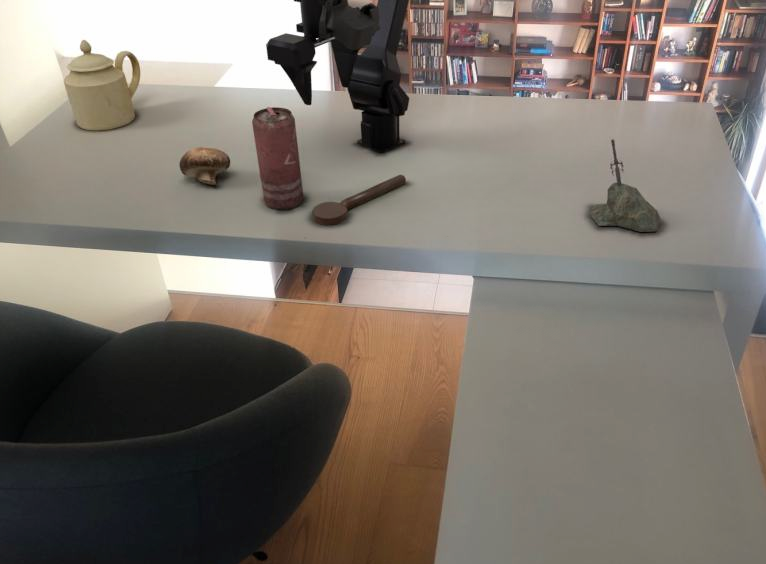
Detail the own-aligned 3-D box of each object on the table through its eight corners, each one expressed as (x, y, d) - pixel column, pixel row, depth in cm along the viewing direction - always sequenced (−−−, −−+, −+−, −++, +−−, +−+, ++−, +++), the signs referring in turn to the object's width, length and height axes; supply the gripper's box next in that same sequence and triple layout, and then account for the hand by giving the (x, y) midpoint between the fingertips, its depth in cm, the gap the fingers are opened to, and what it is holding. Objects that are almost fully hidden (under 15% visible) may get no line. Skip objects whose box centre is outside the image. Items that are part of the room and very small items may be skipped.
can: (292, 188, 111) (281, 102, 103) (310, 204, 107) (300, 115, 98) (257, 198, 109) (243, 110, 100) (274, 214, 105) (261, 124, 96)
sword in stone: (660, 210, 104) (679, 133, 97) (660, 236, 98) (681, 156, 91) (592, 202, 106) (605, 126, 99) (588, 227, 101) (602, 148, 93)
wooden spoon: (393, 177, 114) (392, 168, 113) (415, 187, 111) (415, 178, 110) (305, 217, 104) (304, 207, 103) (328, 229, 101) (327, 219, 100)
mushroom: (214, 178, 108) (205, 138, 107) (175, 192, 111) (165, 153, 110) (244, 181, 115) (235, 144, 114) (206, 194, 118) (197, 158, 118)
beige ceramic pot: (99, 102, 143) (77, 25, 134) (151, 103, 143) (132, 25, 133) (66, 130, 132) (39, 47, 122) (122, 131, 131) (99, 48, 122)
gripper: (321, 6, 88) (330, 125, 98) (403, -22, 100) (403, 87, 110) (256, -5, 93) (271, 110, 103) (342, -30, 105) (348, 75, 115)
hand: (327, 95), depth 107 cm, fingers open, 9 cm apart
